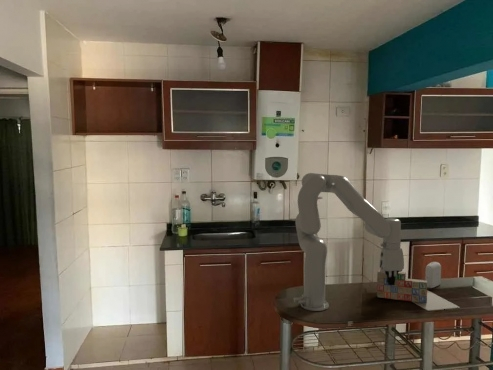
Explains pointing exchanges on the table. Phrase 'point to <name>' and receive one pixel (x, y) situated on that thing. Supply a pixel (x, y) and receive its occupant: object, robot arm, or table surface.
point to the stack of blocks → (402, 288)
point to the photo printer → (433, 274)
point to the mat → (436, 303)
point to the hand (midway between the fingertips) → (390, 284)
